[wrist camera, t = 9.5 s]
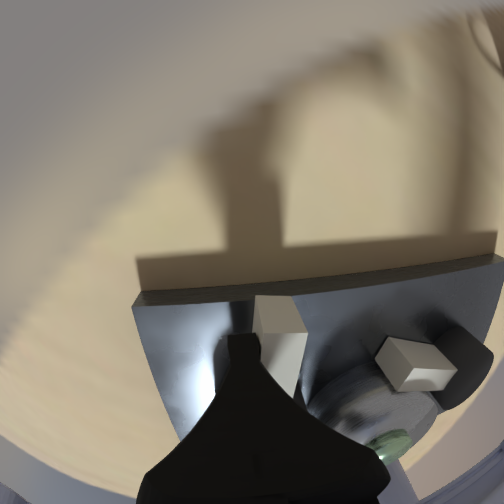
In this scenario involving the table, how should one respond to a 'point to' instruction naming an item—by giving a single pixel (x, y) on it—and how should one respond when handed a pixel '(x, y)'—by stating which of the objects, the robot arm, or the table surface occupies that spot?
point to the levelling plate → (323, 342)
